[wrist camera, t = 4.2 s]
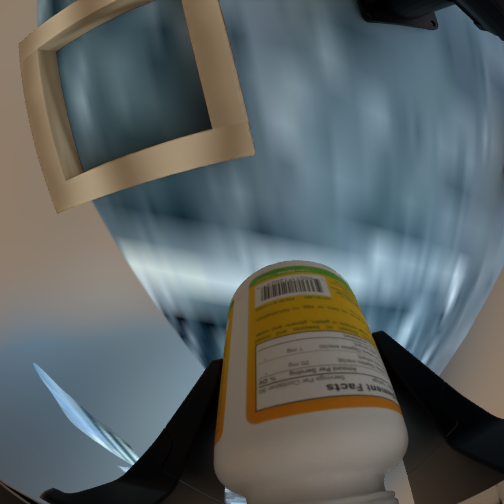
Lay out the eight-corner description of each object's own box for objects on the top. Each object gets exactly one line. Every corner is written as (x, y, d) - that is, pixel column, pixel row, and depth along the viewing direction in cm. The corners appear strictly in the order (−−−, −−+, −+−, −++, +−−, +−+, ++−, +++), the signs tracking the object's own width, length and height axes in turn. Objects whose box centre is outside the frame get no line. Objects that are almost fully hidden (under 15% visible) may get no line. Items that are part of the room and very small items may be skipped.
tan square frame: (208, -36, 11) (203, -52, 8) (254, 149, 18) (254, 154, 15) (37, 45, 12) (18, 43, 10) (73, 202, 19) (57, 213, 17)
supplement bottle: (292, 365, 14) (308, 550, 5) (204, 316, 12) (165, 548, 3) (375, 301, 12) (456, 509, 3) (289, 228, 10) (353, 562, 1)
